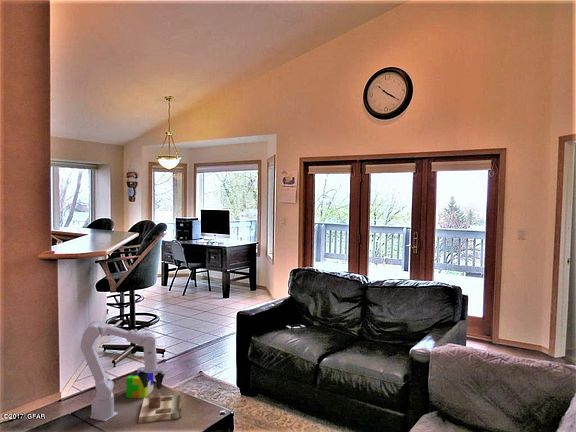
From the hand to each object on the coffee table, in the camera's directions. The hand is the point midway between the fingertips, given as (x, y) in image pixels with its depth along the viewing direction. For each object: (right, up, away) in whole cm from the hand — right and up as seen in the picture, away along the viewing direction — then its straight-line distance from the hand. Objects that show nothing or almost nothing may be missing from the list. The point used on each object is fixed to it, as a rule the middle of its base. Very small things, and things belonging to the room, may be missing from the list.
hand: (152, 387), depth 194 cm
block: (+1, -9, 0) cm, 9 cm away
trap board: (+4, -11, 0) cm, 12 cm away
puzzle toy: (-13, -11, +19) cm, 25 cm away
